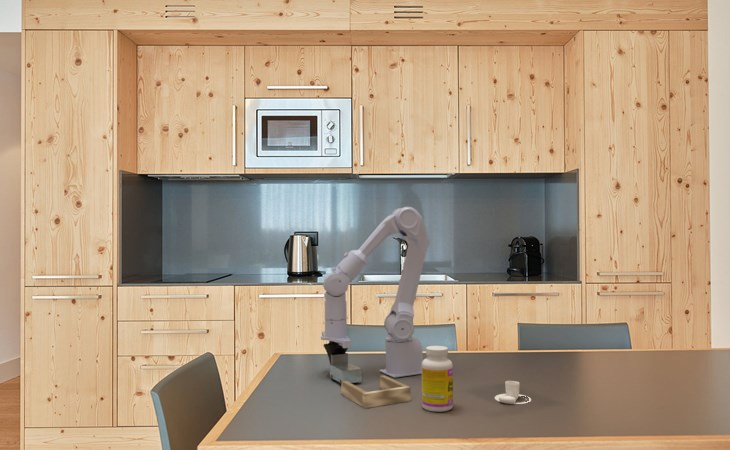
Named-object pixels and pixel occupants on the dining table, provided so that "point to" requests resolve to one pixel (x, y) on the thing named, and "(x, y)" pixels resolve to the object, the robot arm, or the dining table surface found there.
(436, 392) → the supplement bottle
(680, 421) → the dining table surface
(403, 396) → the dock bay
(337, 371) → the grey stepped block
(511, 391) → the teacup and saucer
